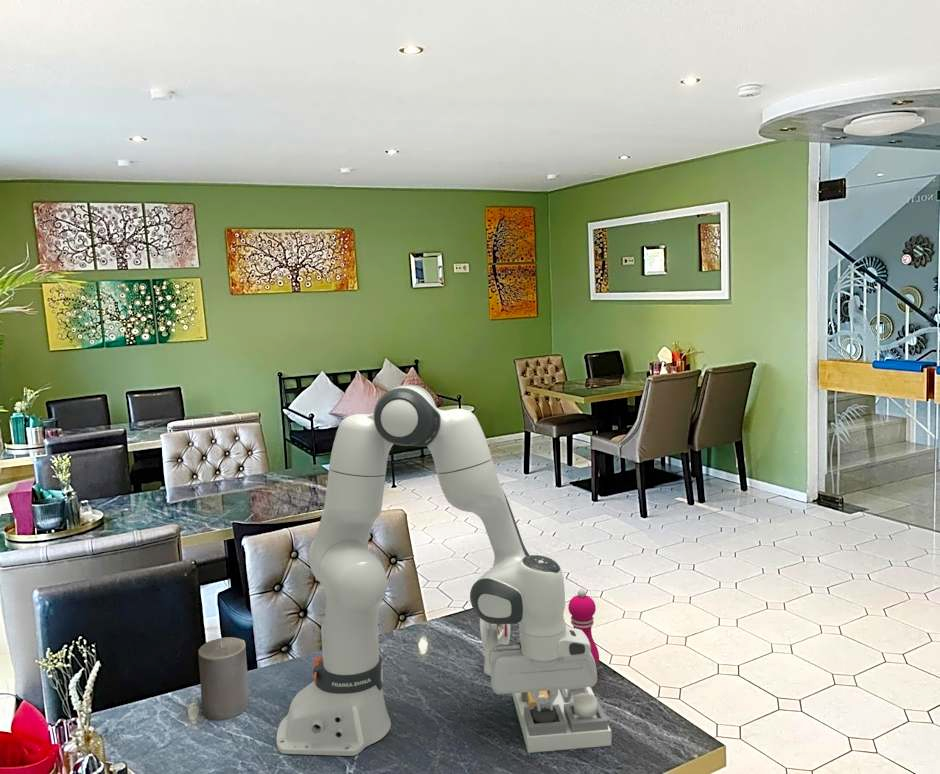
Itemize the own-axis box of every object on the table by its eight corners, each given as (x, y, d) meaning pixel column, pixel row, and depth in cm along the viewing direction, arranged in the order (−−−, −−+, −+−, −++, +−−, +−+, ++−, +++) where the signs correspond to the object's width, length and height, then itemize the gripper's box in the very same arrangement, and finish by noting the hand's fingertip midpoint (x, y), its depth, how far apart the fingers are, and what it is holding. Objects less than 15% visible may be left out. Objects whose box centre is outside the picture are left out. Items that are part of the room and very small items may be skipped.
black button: (535, 729, 145) (535, 717, 144) (531, 716, 149) (531, 704, 149) (558, 727, 145) (557, 715, 145) (553, 714, 149) (553, 702, 149)
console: (528, 752, 143) (527, 723, 142) (512, 697, 163) (512, 671, 162) (611, 745, 145) (611, 716, 144) (586, 691, 164) (585, 665, 164)
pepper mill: (598, 684, 167) (597, 596, 165) (565, 681, 169) (564, 595, 166) (600, 667, 174) (598, 584, 172) (568, 665, 176) (566, 582, 173)
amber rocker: (529, 706, 153) (529, 701, 152) (523, 676, 160) (523, 670, 159) (549, 705, 153) (549, 699, 152) (542, 674, 160) (542, 669, 160)
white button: (576, 718, 145) (576, 706, 145) (571, 705, 150) (571, 693, 149) (599, 716, 146) (599, 704, 145) (593, 704, 150) (593, 692, 150)
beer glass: (517, 667, 176) (515, 605, 174) (502, 680, 170) (500, 616, 168) (491, 660, 179) (489, 599, 178) (475, 673, 174) (473, 610, 172)
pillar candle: (194, 709, 163) (188, 643, 161) (235, 690, 170) (230, 627, 168) (217, 726, 156) (211, 657, 154) (259, 706, 163) (254, 640, 161)
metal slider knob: (570, 703, 154) (570, 689, 154) (567, 695, 157) (567, 681, 157) (585, 701, 154) (584, 687, 154) (581, 694, 157) (581, 680, 157)
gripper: (490, 653, 141) (493, 723, 143) (598, 644, 143) (600, 713, 145) (486, 638, 147) (489, 705, 149) (590, 630, 149) (591, 696, 151)
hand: (544, 709), depth 147 cm, fingers closed, pressing on black button
